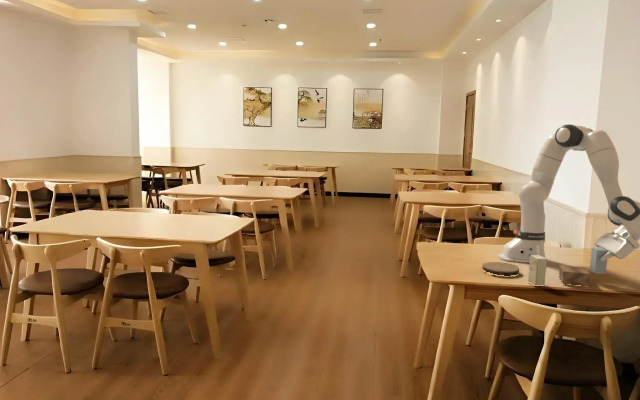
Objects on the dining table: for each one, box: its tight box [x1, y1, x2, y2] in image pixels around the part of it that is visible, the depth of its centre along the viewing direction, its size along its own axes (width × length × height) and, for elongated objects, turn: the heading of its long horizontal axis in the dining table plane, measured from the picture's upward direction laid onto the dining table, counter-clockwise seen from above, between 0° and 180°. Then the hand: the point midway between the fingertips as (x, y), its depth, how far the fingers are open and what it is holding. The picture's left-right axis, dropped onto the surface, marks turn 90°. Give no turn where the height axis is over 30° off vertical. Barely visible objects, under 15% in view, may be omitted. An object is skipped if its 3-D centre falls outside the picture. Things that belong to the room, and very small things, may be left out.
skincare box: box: [527, 255, 548, 286], centre depth 209 cm, size 6×4×12 cm
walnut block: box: [558, 265, 591, 287], centre depth 213 cm, size 10×10×6 cm
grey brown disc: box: [481, 261, 520, 276], centre depth 229 cm, size 16×16×3 cm
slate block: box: [589, 247, 608, 275], centre depth 212 cm, size 4×4×10 cm
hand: (597, 258), depth 212 cm, fingers closed on slate block, 4 cm apart
